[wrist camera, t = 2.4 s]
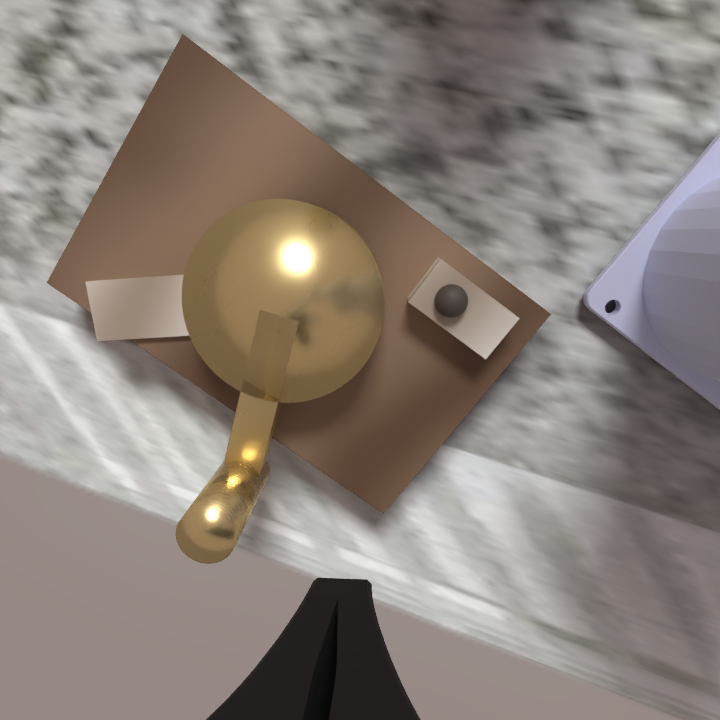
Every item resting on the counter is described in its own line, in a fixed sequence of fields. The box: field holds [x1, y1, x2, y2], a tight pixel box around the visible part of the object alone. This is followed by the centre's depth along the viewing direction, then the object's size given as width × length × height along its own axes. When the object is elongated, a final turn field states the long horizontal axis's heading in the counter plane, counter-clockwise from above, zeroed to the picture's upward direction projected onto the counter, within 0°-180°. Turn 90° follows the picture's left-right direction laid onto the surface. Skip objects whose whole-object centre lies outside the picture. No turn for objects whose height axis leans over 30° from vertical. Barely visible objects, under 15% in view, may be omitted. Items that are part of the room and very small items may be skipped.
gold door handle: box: [176, 199, 385, 564], centre depth 15 cm, size 10×6×4 cm, turn 164°
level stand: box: [47, 35, 551, 514], centre depth 17 cm, size 14×10×4 cm
